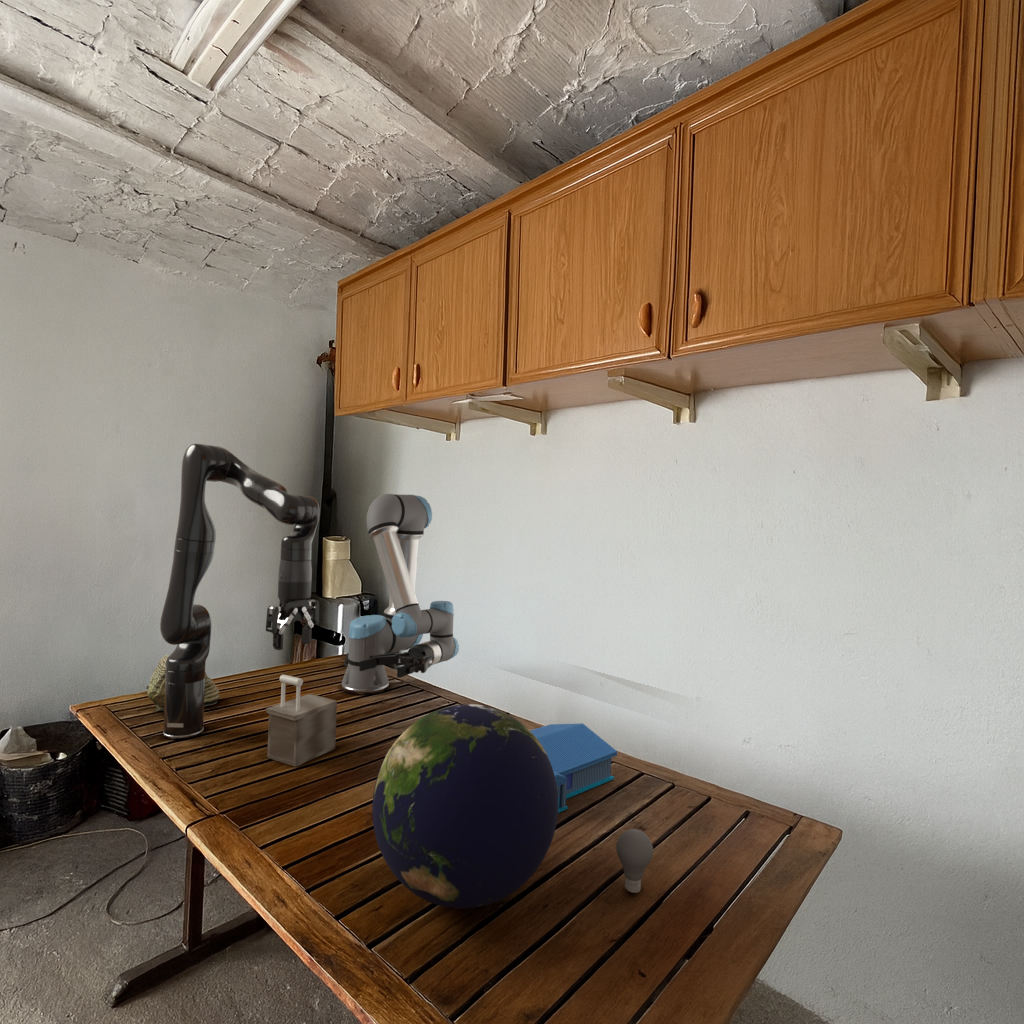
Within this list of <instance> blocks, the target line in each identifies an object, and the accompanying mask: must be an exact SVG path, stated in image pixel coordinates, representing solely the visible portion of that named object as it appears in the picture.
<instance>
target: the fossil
mask: <svg viewBox="0 0 1024 1024" xmlns="http://www.w3.org/2000/svg"><path fill="white" fill-rule="evenodd" d="M169 655H170V654H165V655H164V656H163V657H162V658H161V659H160V660H159V662H158V663H157V666H156V667H155V669H154V670H153V672H152V675H151V677H150V680H149V684H148V685H149V688H148V689H147V697H148V699H149V700H150V701H152V703H153V704H154V706H155V711H158V712H159V711H162V712H163V711H164V705H165V674H166V660H167V658H168V656H169ZM220 698H221V696H220V690H219V688H218V686H217V685H216V683H215V682H214V681H213V679H212V678H211V677H209V675H208V674H207V672H206V671H205V693H204V707H207V706H213V705H215V704H217V703H218V701H219V699H220Z"/></svg>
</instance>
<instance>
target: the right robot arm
mask: <svg viewBox="0 0 1024 1024" xmlns="http://www.w3.org/2000/svg"><path fill="white" fill-rule="evenodd" d="M432 519H433V512H432V507H431V505H430V503H429V502H428V500H427V499H426V498H425V497H423V496H421V495H415V494H394V493H385V494H381V495H379V496H378V497H376V498H374V500H373V501H372V502H371V503H370V505H369V507H368V510H367V513H366V529H367V533H368V536H369V539H371V540H373V541H374V545H375V548H376V552H377V555H378V557H379V561H380V565H381V568H382V571H383V574H384V578H385V582H386V585H387V588H388V591H389V598H388V599H389V601H388V606H387V608H385V609H384V611H383V615H382V614H371V615H368V614H367V615H363V616H359V617H356V618H354V619H353V620H352V621H351V622H350V624H349V630H348V652H347V653H346V654H345V656H346V657H345V660H344V661H343V666H345V667H346V670H345V672H344V675H343V678H342V681H341V686H340V687H341V690H342V691H343V692H345V693H347V694H352V695H362V696H364V695H375V694H381V693H383V692H386V691H387V690H388V689H389V685H390V681H389V677H388V675H387V671H386V667H385V666H389V665H395V666H398V667H396V678H403V677H407V676H408V675H411V674H414V673H416V674H417V673H419V672H420V673H421V674H425V673H426V672H427V671H428V670H429V668H431V667H432V666H434V665H436V664H439V663H443V662H447V661H450V660H451V659H453V658H455V657H456V656H457V654H459V650H460V644H459V642H458V640H457V638H455V636H454V617H455V613H454V604H453V602H452V601H448V600H433V601H431V603H429V604H430V605H429V608H427V609H421V606H420V605H419V602H418V598H417V594H416V583H417V571H418V569H417V568H418V558H419V557H418V555H419V544H420V543H419V541H420V539H421V538H422V537H423V536H424V535H425V530H426V528H428V527H429V526H430V524H431V522H432ZM426 634H429V640H428V641H424V642H421V641H422V639H423V637H424V635H426ZM400 651H404V652H400Z"/></svg>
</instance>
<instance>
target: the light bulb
mask: <svg viewBox="0 0 1024 1024" xmlns="http://www.w3.org/2000/svg"><path fill="white" fill-rule="evenodd" d="M615 849H616V854H617V857H618V859H619V861H620V863H621V865H622V867H623V873H624V874H623V875H624V876H625V878H624V888H625V890H627V891H628V892H630V893H634V894H635V893H639V892H640V891H641V889H642V887H641V886H642V879H643V877H644V875H645V871H646V868H647V867H648V866H649V864H650V863H651V861H652V859H653V855H654V847H653V843H652V841H651V838H649V836H648V835H647V834H646V833H645V832H643V831H642V830H641V829H636V828H629V829H627V830H625V831H623V832H622V833H621V834H620V835H619V837H618V839H617V841H616V847H615Z"/></svg>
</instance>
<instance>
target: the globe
mask: <svg viewBox="0 0 1024 1024" xmlns="http://www.w3.org/2000/svg"><path fill="white" fill-rule="evenodd" d="M530 730H531V729H529V728H527V726H525V725H524V724H523V723H522V722H520V721H519V720H518V719H516V718H515V717H514V716H512V715H510V714H509V713H506V712H504V711H502V710H499V709H497V708H494V707H491V706H487V705H482V704H478V703H477V704H475V703H466V704H465V703H464V704H455V705H450V706H449V705H448V706H445V707H442V708H439V709H437V710H434V711H432V712H429V713H428V714H425V715H424V716H422V717H420V719H417V720H416V721H415V722H413V723H412V724H411V725H410V726H408V727H407V728H406V729H405V730H404V731H403V732H402V734H401V735H400V736H398V737H397V738H396V740H395V741H394V742H393V744H392V745H391V747H390V748H389V749H388V751H387V753H386V755H385V757H384V760H383V761H382V763H381V765H380V768H379V771H378V774H377V776H376V781H375V784H374V789H373V796H372V804H371V805H372V807H371V809H372V824H373V829H374V836H375V839H376V843H377V846H378V849H379V852H380V853H381V856H382V858H383V860H384V861H385V863H386V865H387V866H388V868H389V871H391V873H392V874H393V875H394V876H395V878H396V879H397V880H398V881H399V882H400V883H401V884H402V885H403V886H404V887H405V888H406V889H407V890H409V891H410V892H411V893H413V895H415V896H417V897H419V898H421V899H422V900H425V901H426V902H429V903H431V904H434V905H437V906H440V907H444V908H448V909H457V910H465V909H466V910H467V909H469V910H470V909H477V908H481V907H486V906H489V905H492V904H494V903H497V902H499V901H502V900H504V899H505V898H508V896H510V895H512V894H513V893H515V892H516V891H518V890H519V889H520V888H521V887H523V885H524V884H526V883H527V882H528V880H530V879H531V878H532V877H533V875H534V874H535V873H536V871H537V870H538V869H539V867H540V866H541V865H542V862H543V861H544V859H545V857H546V855H547V854H548V851H549V849H550V847H551V844H552V842H553V839H554V836H555V832H556V829H557V828H556V827H557V822H558V816H559V813H558V791H557V784H556V779H555V775H554V772H553V768H552V765H551V763H550V761H549V758H548V756H547V753H546V752H545V750H544V748H543V747H542V745H541V743H540V742H539V741H538V739H537V738H536V737H535V736H534V735H533V734H532V733H531V732H530Z"/></svg>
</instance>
